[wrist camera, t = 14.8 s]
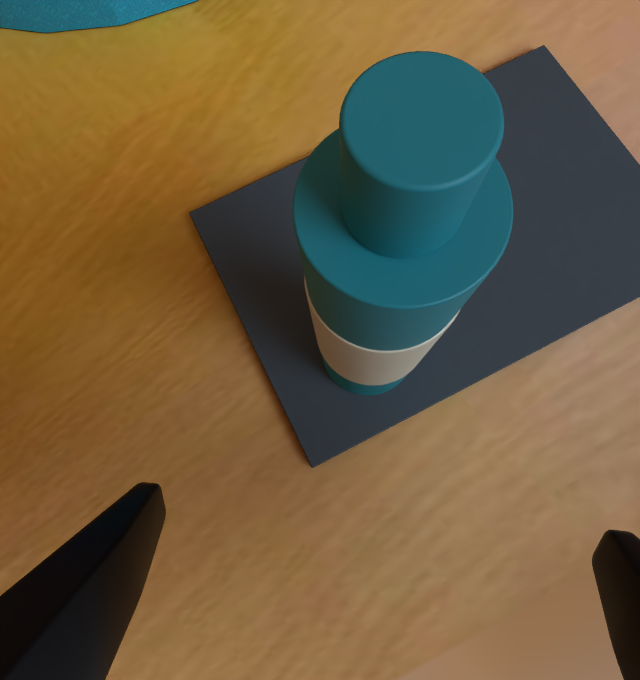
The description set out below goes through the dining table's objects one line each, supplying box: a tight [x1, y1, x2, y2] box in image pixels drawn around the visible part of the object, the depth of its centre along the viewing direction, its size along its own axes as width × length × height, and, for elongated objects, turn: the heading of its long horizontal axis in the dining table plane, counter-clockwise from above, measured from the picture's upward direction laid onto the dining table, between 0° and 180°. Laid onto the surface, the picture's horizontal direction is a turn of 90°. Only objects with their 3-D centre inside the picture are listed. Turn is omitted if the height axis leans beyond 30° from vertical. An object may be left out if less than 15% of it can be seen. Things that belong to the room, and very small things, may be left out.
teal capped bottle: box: [292, 51, 513, 395], centre depth 12 cm, size 4×4×13 cm
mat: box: [190, 45, 640, 468], centre depth 19 cm, size 12×18×1 cm, turn 117°
